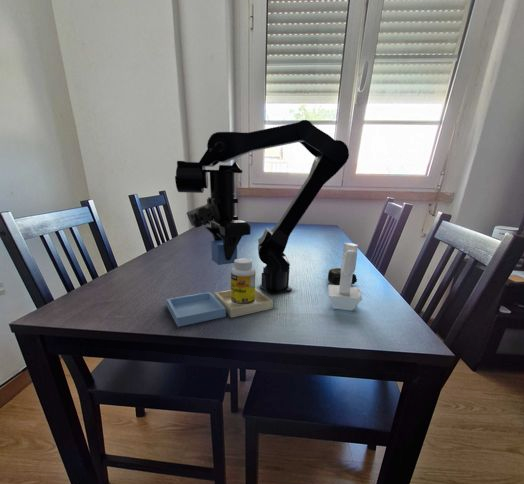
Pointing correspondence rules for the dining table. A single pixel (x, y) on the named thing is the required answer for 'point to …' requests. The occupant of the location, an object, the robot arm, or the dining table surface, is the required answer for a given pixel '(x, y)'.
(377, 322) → the dining table surface
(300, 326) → the dining table surface
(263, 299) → the cream tray
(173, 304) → the blue tray
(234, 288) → the supplement bottle
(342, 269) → the white joystick
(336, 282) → the tape measure
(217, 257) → the blue block
